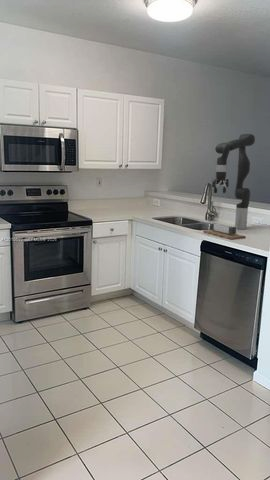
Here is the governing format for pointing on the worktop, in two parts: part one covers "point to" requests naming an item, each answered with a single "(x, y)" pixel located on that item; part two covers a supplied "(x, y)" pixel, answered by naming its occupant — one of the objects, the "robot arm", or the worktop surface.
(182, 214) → the worktop surface
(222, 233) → the tong rest
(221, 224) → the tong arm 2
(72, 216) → the worktop surface
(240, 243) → the worktop surface
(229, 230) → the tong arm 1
